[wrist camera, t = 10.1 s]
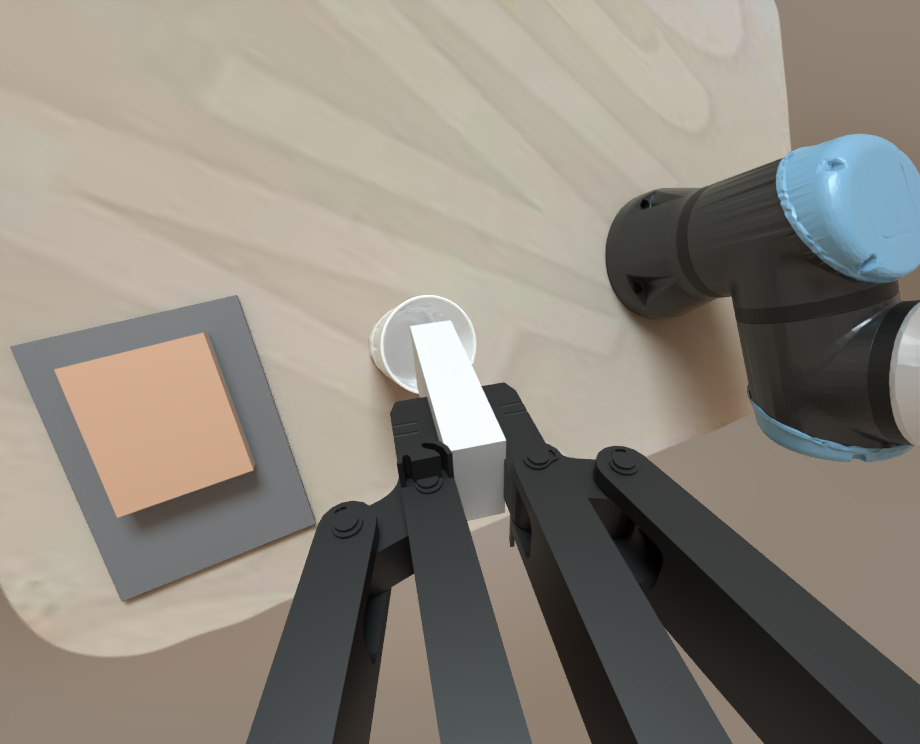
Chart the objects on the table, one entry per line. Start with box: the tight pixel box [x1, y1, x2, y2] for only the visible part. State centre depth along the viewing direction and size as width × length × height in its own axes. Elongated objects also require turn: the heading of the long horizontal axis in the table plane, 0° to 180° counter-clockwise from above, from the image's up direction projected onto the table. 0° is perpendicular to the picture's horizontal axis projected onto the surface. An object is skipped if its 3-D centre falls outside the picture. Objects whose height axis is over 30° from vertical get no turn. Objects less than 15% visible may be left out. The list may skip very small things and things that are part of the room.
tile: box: [54, 333, 256, 518], centre depth 36 cm, size 2×10×12 cm
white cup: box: [369, 295, 477, 394], centre depth 39 cm, size 8×8×10 cm
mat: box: [10, 295, 316, 601], centre depth 37 cm, size 22×16×1 cm
